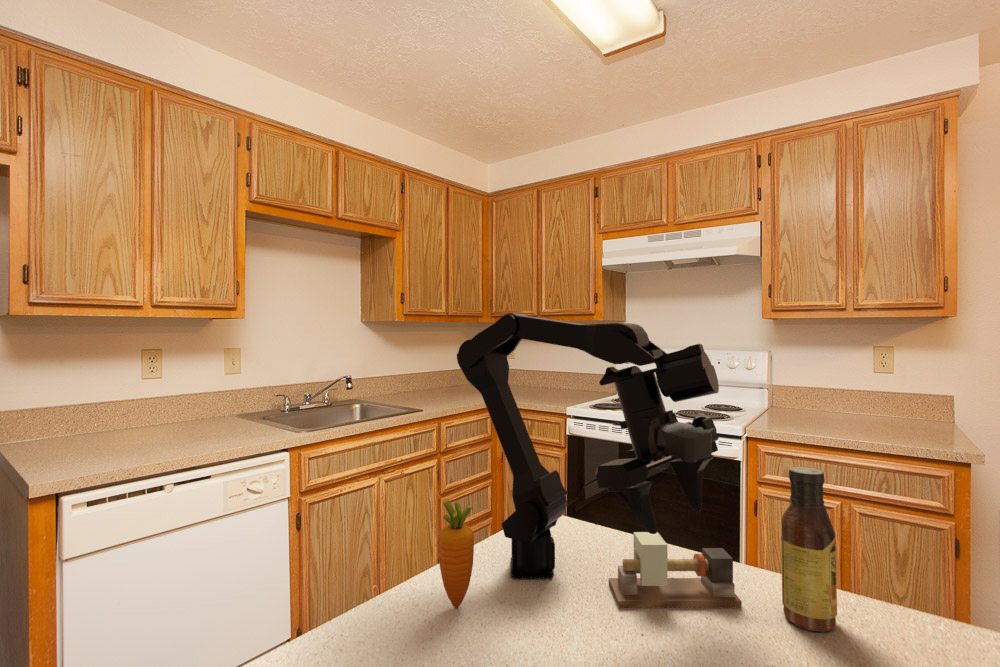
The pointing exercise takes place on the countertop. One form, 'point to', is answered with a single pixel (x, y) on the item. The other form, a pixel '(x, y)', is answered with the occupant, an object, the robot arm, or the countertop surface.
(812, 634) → the countertop surface
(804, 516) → the sauce bottle
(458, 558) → the carrot
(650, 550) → the cream block
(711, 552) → the cable stand
